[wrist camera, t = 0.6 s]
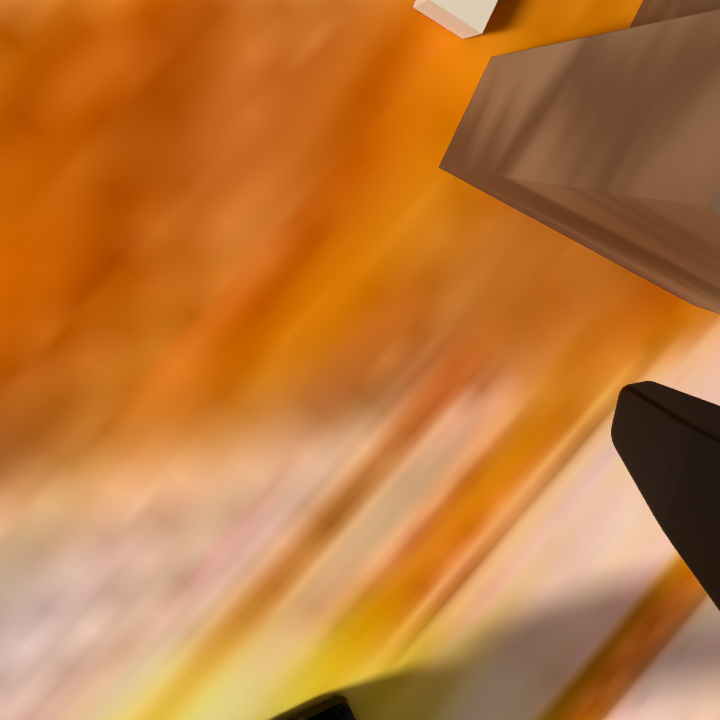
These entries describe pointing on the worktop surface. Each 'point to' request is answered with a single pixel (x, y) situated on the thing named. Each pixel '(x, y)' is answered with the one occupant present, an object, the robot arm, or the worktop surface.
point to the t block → (612, 143)
